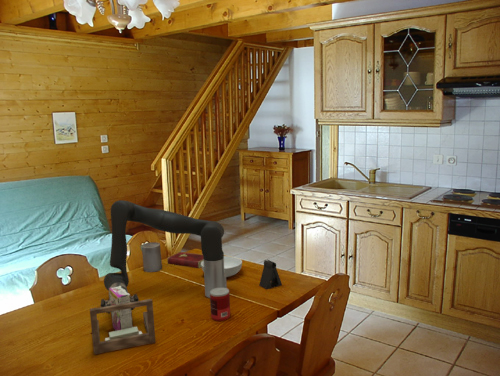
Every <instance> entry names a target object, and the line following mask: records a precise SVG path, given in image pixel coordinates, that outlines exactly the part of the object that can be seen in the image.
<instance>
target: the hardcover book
mask: <svg viewBox="0 0 500 376" xmlns="http://www.w3.org/2000/svg"><path fill="white" fill-rule="evenodd" d="M166 259H167V261H166V262H167V265H173V264H174V266H181V267H188V268H194V269H200V268H202V267H201V262H202V261H203V254H202V253H201V254H200V253H193V252H192V253H191V252H184V251H179V252H177V253H173V255H172V254H171V255H170V256H168V257H167V258H166Z"/></svg>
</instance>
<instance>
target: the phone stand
mask: <svg viewBox="0 0 500 376" xmlns="http://www.w3.org/2000/svg"><path fill="white" fill-rule="evenodd" d="M258 284H259V286H260V287H261V288H263V289H265V290H270V289H273V288H277V287H281V286H282V285H283V283H282V281H281V277H280V275H279V273H278V269H277V262H274V261H273V260H270V259H265V260H264V261H263V269H262V272H261V277H260V281H259V283H258Z"/></svg>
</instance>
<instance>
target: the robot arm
mask: <svg viewBox="0 0 500 376" xmlns="http://www.w3.org/2000/svg"><path fill="white" fill-rule="evenodd" d="M110 221H111V244H110V245H111V246H110V258H109V259H110V260H109V266H110V267H111V268H115V269H118V270H120V272H109V273H108V272H107V274H106V275H104V279H103V285H104V287H105V289H106V290H107V291H108V292H109V288H113V287H117V286H122V287H123V288H124V289H125V290H126V291H127V292H128V293H129V291H128V289H127V287H128V286H129V281H130V280H129V276H128V274H129V273H128V271H127V260H128V259H127V258H128V244H127V243H128V242H127V235H126V234H127V233H126V231H127V229H126V228H127V224H128V222H134V223H139V224H143V225H146V226H149V227H150V228H153V229H156V230H158V231H162V232H166V233H170V234H176V235H177V234H180V235H181V234H182V235H183V234H184V235H186V234H188V235H195V236H199V237H200V244H201V245H200V246H201V255H203V261H204V271H203V274H204V275H203V276H204V277H203V278H204V295H205V297H206V298H208V299H210V291H211V290H212V289H215V288H227V289H228V287H227V286H228V285H227V277H226V275H225V270H224V256H225V254H224V251H223V243H222V242H223V241H222V239H223V237H224V234H225V228H224V227H223V225H222V224H221V223H219V222H218V221H213V220H207V219H206V220H205V219H198V218H194V217H191V216H187V215H185V214H180V213H177V212H174V211H169V210H164V209H158V208H150V207H145V206H142V205H139V204H136V203H133V202H132V201H128V200H117V201H114V202H113V203H112V205H111V207H110ZM108 297H109V298H108V300H105V298H102V299H101V300H100V307H106V306H111V305H110V295H109V294H108ZM130 300H131V302H136V301H140V300H139V296H138V295H137V293H134V294H133V295H132V296H130ZM134 309H135V308H131V310H134ZM105 313H106V314H108V315H111V312H105Z"/></svg>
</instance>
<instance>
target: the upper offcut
mask: <svg viewBox="0 0 500 376" xmlns="http://www.w3.org/2000/svg"><path fill="white" fill-rule="evenodd" d="M139 331H140V330H139V329H138V326H133V327H132V328H127V329H122V330H118V331H115V330H113V331H109V332H108V336H109V337H108V338H109V339H110V340H112V339H117V338H123V337H128V336H133V335H139Z"/></svg>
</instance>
